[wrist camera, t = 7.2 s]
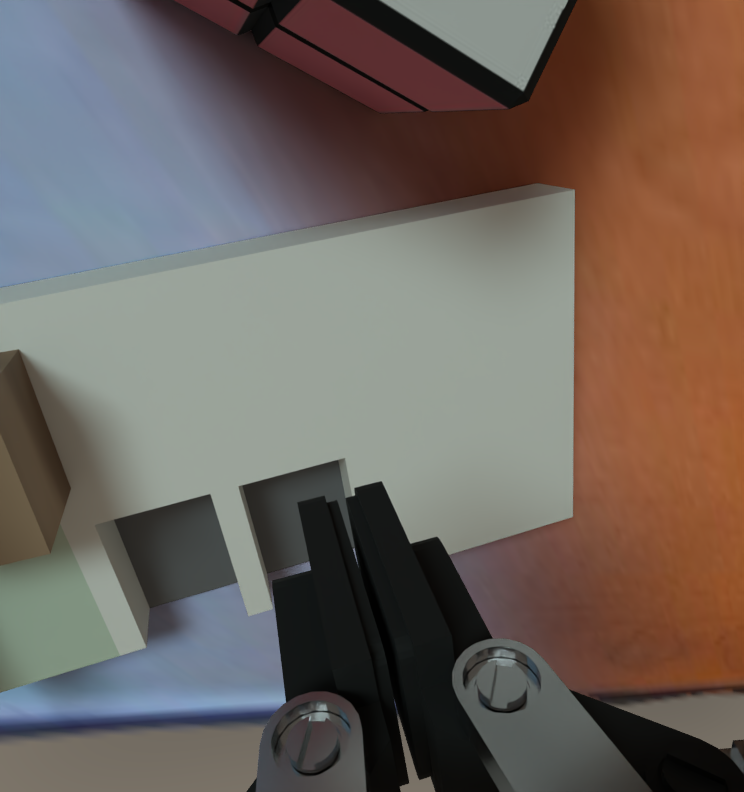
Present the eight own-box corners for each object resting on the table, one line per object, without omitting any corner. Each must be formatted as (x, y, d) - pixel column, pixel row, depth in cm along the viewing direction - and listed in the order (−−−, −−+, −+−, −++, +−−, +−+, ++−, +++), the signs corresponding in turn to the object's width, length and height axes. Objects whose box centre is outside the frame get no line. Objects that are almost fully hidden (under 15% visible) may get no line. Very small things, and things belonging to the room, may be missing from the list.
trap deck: (538, 183, 23) (630, 199, 18) (543, 487, 29) (614, 559, 25) (-205, 327, 19) (-342, 399, 14) (-14, 651, 25) (-62, 779, 20)
